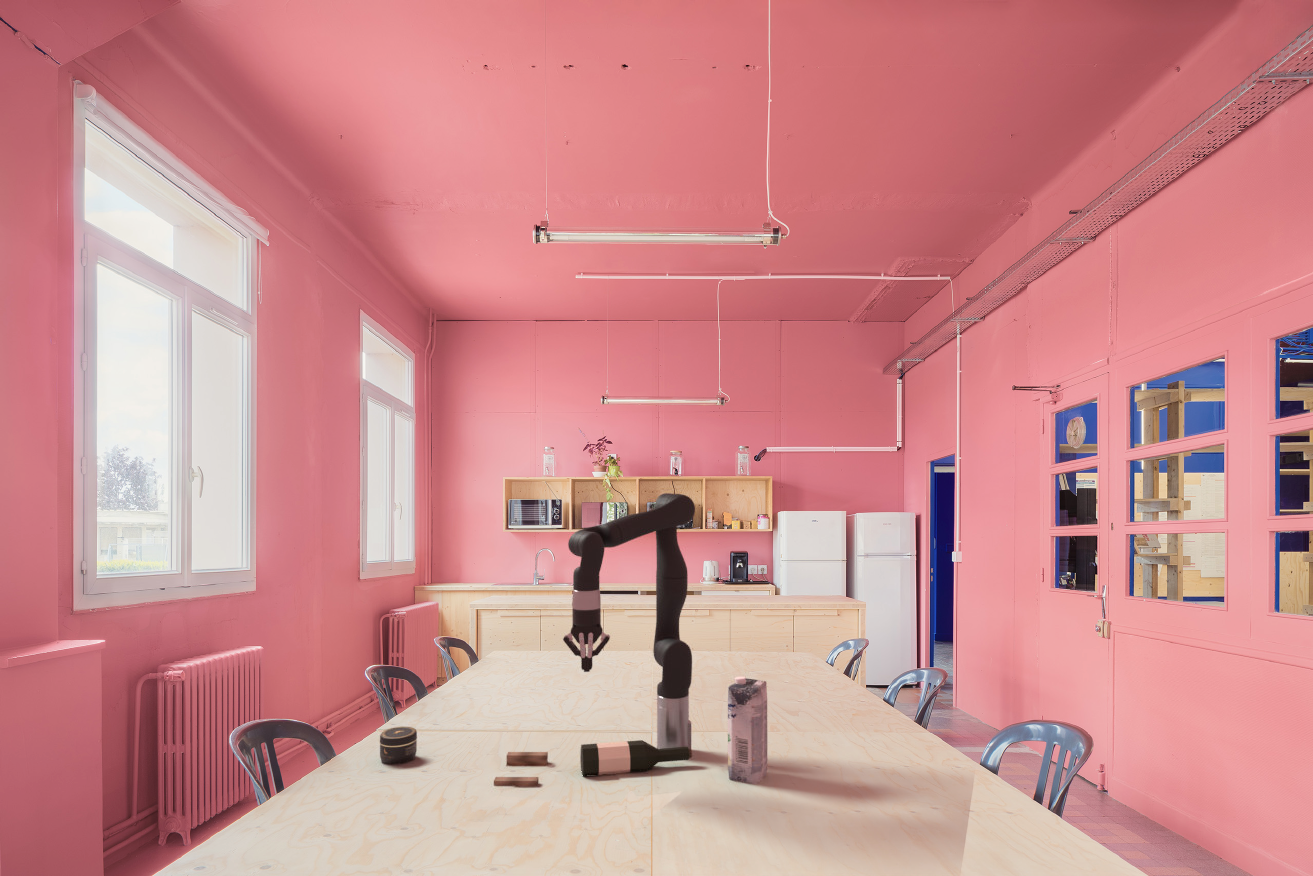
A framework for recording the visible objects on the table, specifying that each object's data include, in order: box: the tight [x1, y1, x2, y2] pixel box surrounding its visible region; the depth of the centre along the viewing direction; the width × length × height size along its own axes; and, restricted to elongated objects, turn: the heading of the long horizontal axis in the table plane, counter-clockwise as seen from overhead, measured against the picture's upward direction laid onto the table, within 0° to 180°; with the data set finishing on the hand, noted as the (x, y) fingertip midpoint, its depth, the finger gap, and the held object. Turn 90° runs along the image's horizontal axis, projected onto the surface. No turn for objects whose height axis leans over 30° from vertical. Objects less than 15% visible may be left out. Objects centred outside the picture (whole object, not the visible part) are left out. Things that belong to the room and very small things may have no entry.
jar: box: [379, 726, 418, 765], centre depth 213 cm, size 10×10×8 cm
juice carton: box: [727, 675, 768, 785], centre depth 198 cm, size 9×10×27 cm
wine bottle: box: [579, 739, 693, 777], centre depth 205 cm, size 8×8×30 cm
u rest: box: [493, 751, 549, 787], centre depth 201 cm, size 11×19×3 cm, turn 0°
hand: (586, 671), depth 202 cm, fingers closed
